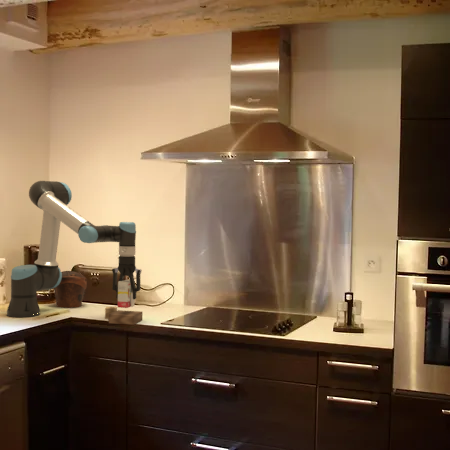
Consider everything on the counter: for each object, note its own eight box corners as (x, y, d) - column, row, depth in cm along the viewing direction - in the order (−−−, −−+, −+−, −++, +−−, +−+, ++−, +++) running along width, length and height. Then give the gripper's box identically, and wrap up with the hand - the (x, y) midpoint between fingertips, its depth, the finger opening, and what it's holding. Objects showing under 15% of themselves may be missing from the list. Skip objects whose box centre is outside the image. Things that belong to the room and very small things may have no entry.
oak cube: (105, 318, 295) (105, 308, 295) (106, 317, 300) (106, 306, 300) (115, 318, 295) (116, 308, 295) (116, 317, 300) (117, 306, 300)
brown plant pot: (69, 309, 317) (70, 274, 316) (43, 306, 327) (43, 271, 327) (95, 306, 331) (96, 272, 331) (68, 302, 342) (69, 270, 342)
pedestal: (108, 323, 284) (108, 314, 284) (117, 318, 295) (118, 310, 295) (134, 324, 281) (134, 315, 281) (142, 320, 293) (142, 311, 293)
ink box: (126, 308, 283) (127, 282, 283) (116, 307, 285) (117, 281, 285) (135, 305, 292) (135, 280, 291) (125, 304, 293) (125, 279, 293)
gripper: (105, 255, 286) (104, 306, 286) (143, 256, 282) (142, 308, 283) (111, 254, 293) (110, 303, 294) (148, 255, 290) (147, 305, 290)
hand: (126, 305), depth 288 cm, fingers closed on ink box, 5 cm apart
